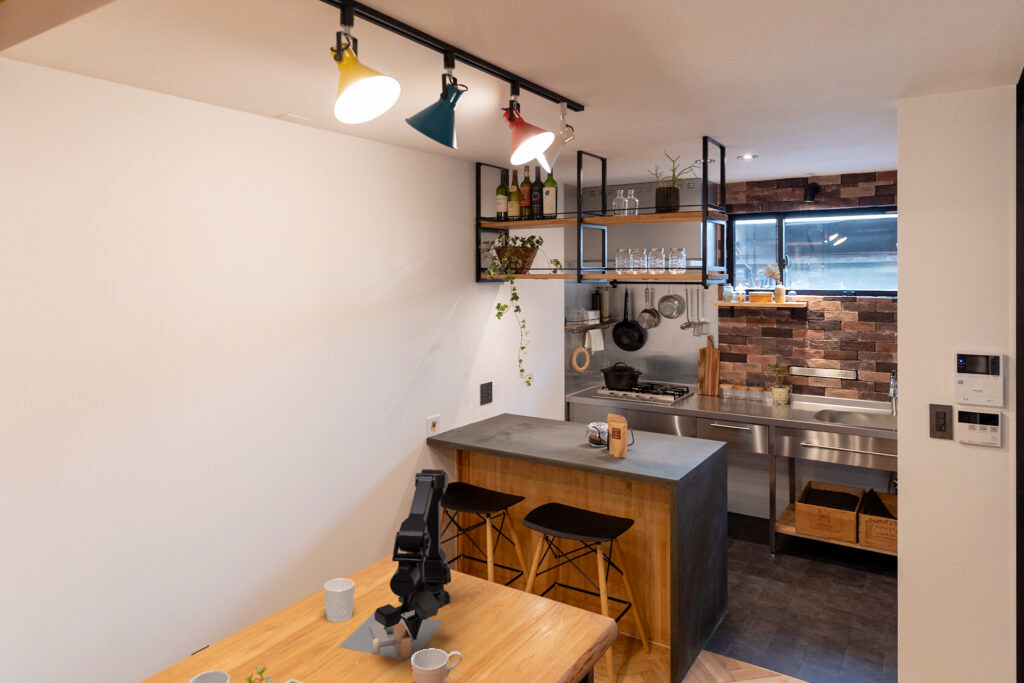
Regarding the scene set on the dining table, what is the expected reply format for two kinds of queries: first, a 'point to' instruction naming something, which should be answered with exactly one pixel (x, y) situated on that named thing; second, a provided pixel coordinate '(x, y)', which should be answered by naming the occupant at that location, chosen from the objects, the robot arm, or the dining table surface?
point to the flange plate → (394, 637)
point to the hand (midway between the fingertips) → (414, 639)
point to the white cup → (339, 599)
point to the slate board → (388, 650)
